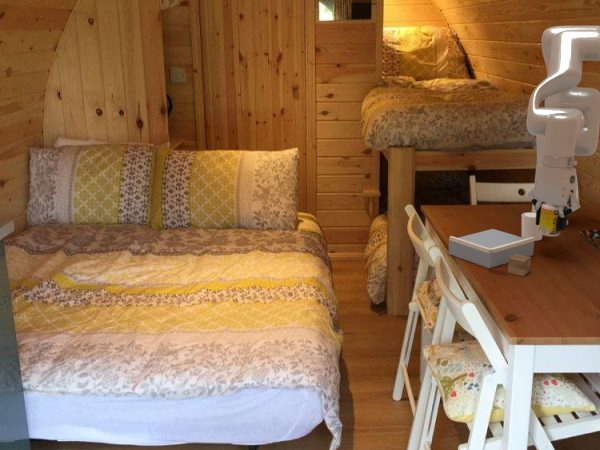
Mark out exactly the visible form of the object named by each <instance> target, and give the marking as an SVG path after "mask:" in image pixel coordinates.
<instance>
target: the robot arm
mask: <svg viewBox="0 0 600 450" xmlns="http://www.w3.org/2000/svg"><path fill="white" fill-rule="evenodd" d="M541 52H542V57H543V59H544V63H545V66H546V72H547V73H546V78H545V79H543V80H542V81H541V82H540V83H538V85H537V86H536V87H535V88H534V90H533V91H532V92H531V95H530V97H529V101H528V106H527V113H526V129H527V132H528V133H529V134H530V135H532V136H535V137H536V138H535V141H536V166H535V175H534V177H535V178H534V187H533V188H532V189H531V190H530V191H529V192H528V193H527V197H528V198H529V199H530V200H531V204H532V207H531V212H535V213H536V225H539V223H540V215H541V206H542V204H543V203H550V204H553V205H556V206H558V209H559V215H560V216H559V217H557V225H556V231H558V232H559V231H561V232H562V231H565V230H566V228H567V226H568V225H569V220H568V216H570V215H571V214H572V213H574V212H575V211H577V210H579V209H580V208H581V205H580V202H579V201H578V199H577V192H578V191H577V188H578V184H577V183H578V178H577V177H578V176H577V171H576V170H577V169H576V167H574V166H577V165H578V160H575V156H580V157H582V156H583V157H585V156H586V157H588V156H592V155H594V154H595V153H596V151H597V150H598V149H597V148H598V143H599V135H600V91H599V90H598V89H597V88H593V87H578V85H579V84H580V82H581V81H582V75H583V74H582V73H583V72H582V71H583V61H584V62H585V61H586V62H587V61H589V62H598V61H599V62H600V25H557V26H551V27H548V28H546V29H545V30H544V31H543V33H542V36H541ZM543 101H544V107H540V104H541V103H542V102H543ZM569 205H571V206H570V207H569ZM563 207H564V208H563Z"/></svg>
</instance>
